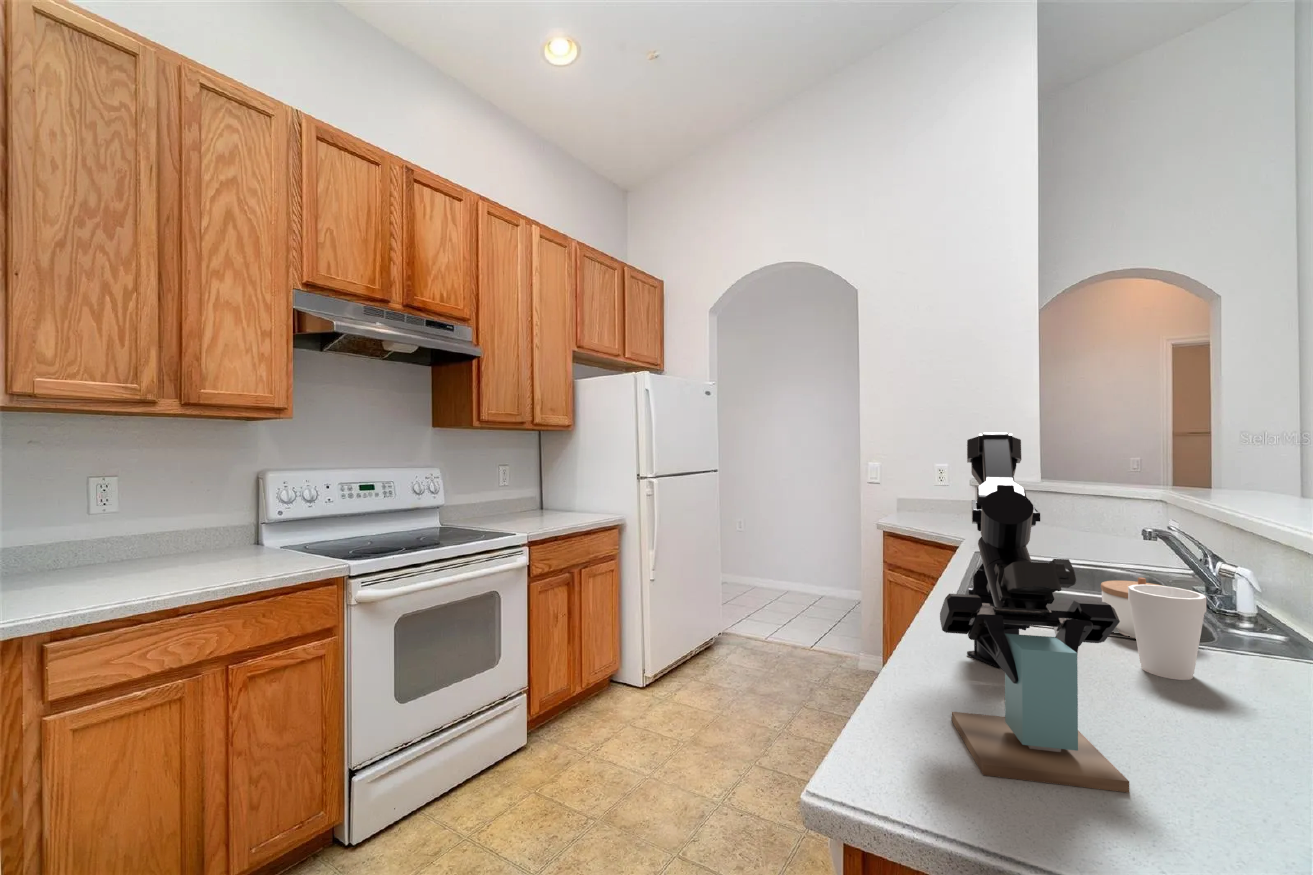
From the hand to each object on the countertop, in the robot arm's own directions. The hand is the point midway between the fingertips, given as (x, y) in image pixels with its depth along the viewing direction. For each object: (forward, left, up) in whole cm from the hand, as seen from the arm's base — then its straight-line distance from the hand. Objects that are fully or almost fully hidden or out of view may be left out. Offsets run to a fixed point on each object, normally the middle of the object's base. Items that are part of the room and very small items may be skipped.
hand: (1044, 684), depth 67 cm
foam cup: (-14, +43, -9) cm, 46 cm away
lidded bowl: (-28, +59, -9) cm, 66 cm away
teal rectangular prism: (-1, +1, -7) cm, 7 cm away
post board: (-1, +1, -9) cm, 9 cm away
